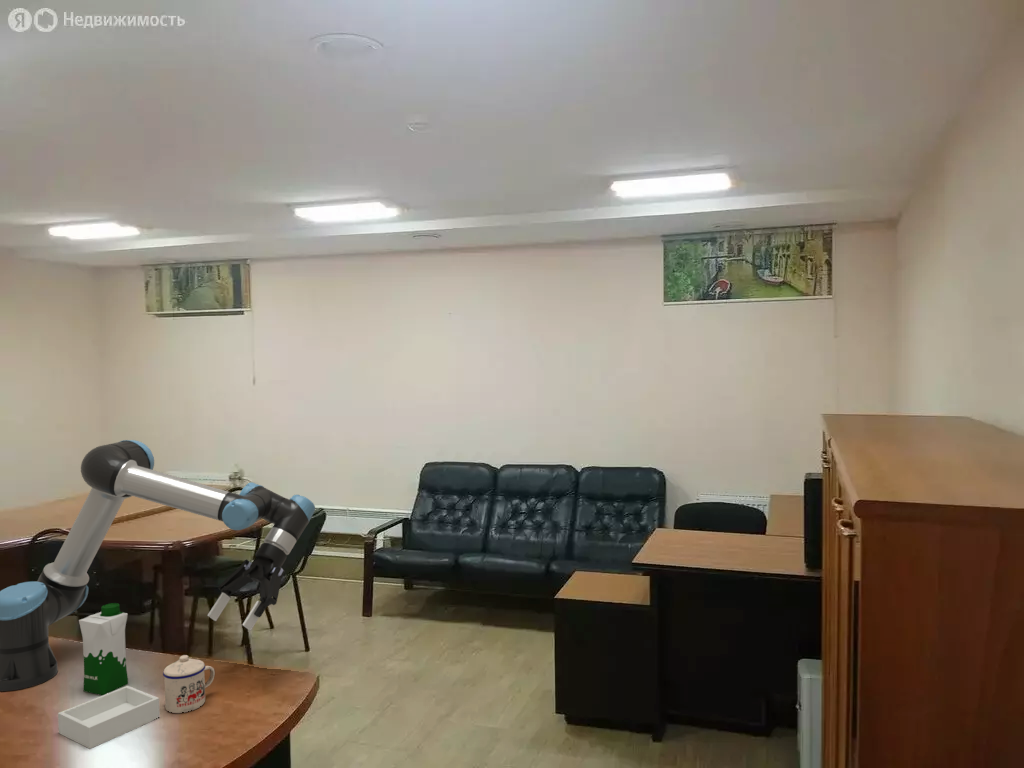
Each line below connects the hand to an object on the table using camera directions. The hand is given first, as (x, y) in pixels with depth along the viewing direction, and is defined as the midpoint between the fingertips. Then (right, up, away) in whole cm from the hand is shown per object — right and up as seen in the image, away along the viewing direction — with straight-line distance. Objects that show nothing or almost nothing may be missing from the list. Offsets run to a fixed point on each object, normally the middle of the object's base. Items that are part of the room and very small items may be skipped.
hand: (228, 623), depth 183 cm
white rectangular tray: (-19, -17, -19) cm, 32 cm away
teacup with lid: (-6, -16, -8) cm, 19 cm away
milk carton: (-31, -16, 0) cm, 35 cm away
